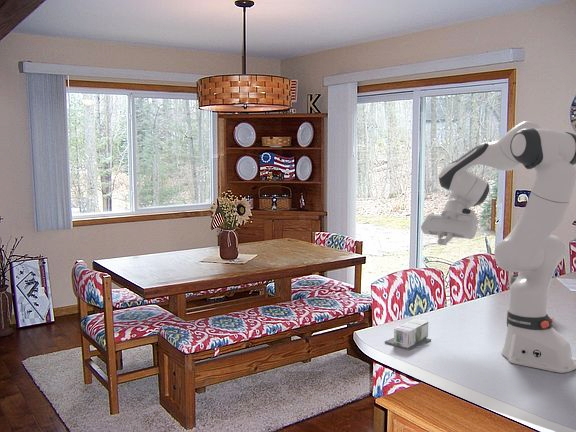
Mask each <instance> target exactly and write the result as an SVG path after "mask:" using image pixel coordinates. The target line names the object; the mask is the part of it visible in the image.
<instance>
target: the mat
mask: <svg viewBox="0 0 576 432" xmlns="http://www.w3.org/2000/svg"><path fill="white" fill-rule="evenodd" d="M431 342H432V338H429V337H426V338H425V339H423V340H421V341H419V342H417V343H416V344H414V345H412V346H410V347H409V348H406V347H402V346H398V345H395V344H394V337H392V338H389V339H387V340H385V341H384V344H386V345H391V346H394V347H397V348H400V349H404V350H407V351H410V350H413V349H416V348H418V347H420V346H423V345H424V344H427V343H431Z"/></svg>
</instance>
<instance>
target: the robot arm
mask: <svg viewBox="0 0 576 432" xmlns="http://www.w3.org/2000/svg"><path fill="white" fill-rule="evenodd" d="M476 165H482V166H487V167H491V168H494V169H497V170H499V171H503V172H504V171H505V172H506V171H507V172H508V171H510V172H511V171H514V170H516V169H519V168H520V167H522V166H523V167H524V168H525V169H527V170H533V169H534V170H535V173H536V174H535V175H536V176H535V180H534V182H533V185H532V188H531V191H530V194H529V196H528V200H527V202H526V205H525V207H524V210H523V212H522V214H521V216H520V218H519V219H518V221H517V222H516V224H515V225H514V227H513V228H512V230H511V231H510V232H509V234H508V235H507V236H506V237H505V238H503V240H501V241H500V242H498V243H497V245H496V246H495V249H494V253H493V254H494V255H493V256H494V260H495V262H496V265H497V266H498V267H499V268H500V269H501V270H503V271H506V272H511V273H518V274H519V275H518V277H517V279H516V280H515V281H514V282H513V284H512V285H511V284H510V287H509V298H508V299H509V301H508V302H509V303H508V310H507V314H506V327H507V329H506V330H507V331H506V336H505V342H504V344H503V348H502V349H501V354H502V355H503V357H505V358H506V359H507V360H508V362H509V363H511V364H514V365H519V366H525V367H529V368H535V369H540V370H543V371H549V372H552V373H553V372H555V373H560V374H561V373H562V374H563V373H565V374H566V373H570V372H573V371H574V370H576V357H574V356H573V354H572V347H571V343H570V342H569V341H568V340H567V339H566V337H565V338H564V336H562V335H561V334H560V333H559V332H558V331H557V330H555V328H554V327H553V323H554V322H555V317H552V318H551V317H550V316H549V315H548V312H547V311H548V310H547V309H548V296H549V295H548V294H549V289H550V285H551V283H552V279H553V277H554V275H555V274H554V273H555V271H556V269H557V267H558V265H559V264H560V263H561V262H562V261H563V260H564V258H565V256H566V246H565V244H564V242H563V240H562V239H561V238H560V237H559V236H557V235H554V234H553V233H554V232H555V231H556V230H558V229H559V227H560V226H561V225H562V223H563V220H564V218H565V215H566V212H567V209H568V207H569V204H570V201H571V198H572V196H573V193H574V189H575V184H576V167H575V165H576V134H574V133H573V132H568V131H565V132H564V131H559V130H555V129H554V130H553V129H551V128H542V127H541V126H540V125H539V124H537V123H536V122H535V121H529V120H528V121H527V120H525V121H522V122H520V123H519V124H517V125H515V126H514V127H512V128H511V129H510V130H508V131H507V132H506V133H505V134H504V135H503V136H502V137H501V138H499V139H498V140H495V141H491V142H482V143H479V144H478V145H477V146H475V147H474V148H471V149H470V150H469V151H467V152H466V153H464V154H463V155H461V156H460V157H459V158H457V159H456V160H454V161H452V162H449V163H448V164H447V165H445V166H444V167H443V168H442V169H441V171H440V173H439V175H438V181H439V184H440V186H441V187H442V188H443V189H445V190H447V191H450V194H449V197H448V200H447V202H446V203H445V205H444V207H443V210H442V212H441V213H440V212H439V213H436V212H431V213H430V214H428V215H427V216H426V218H425V219H424V220H423V222H422V223H421V225H420V229H421V231H422V232H423V234H424V235H431V236H437V238H438V239H437V241H436V242H437V244H438V245H440V246H447V244H448V243H449V242H450V241H451V240H452V239H453V238H458V239H468V240H472V239H474V238H475V236H476V234H477V230H478V223H479V218H478V217H477V215H476V213H475V211H474V210H473V209H470V208H471V207H473V208H474V207H477V206H479V205H481V204H483V203H484V202H485V201H486V199H487V198H488V195H489V193H490V184H489V182H488V181H487V180H485V179H484V178H482V177H481V176H478V175H477V174H475V173H473V172H471V171H470V170H469V168H471V167H473V166H476ZM444 237H445V238H444Z"/></svg>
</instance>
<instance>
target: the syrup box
mask: <svg viewBox="0 0 576 432" xmlns="http://www.w3.org/2000/svg"><path fill="white" fill-rule="evenodd" d="M393 338H394V344H395V345H398V346H402V347H406V348H409V347H410V346H412V345H414V344H416V343H417V342H419V341H421V340H423V339H425V338H429V321H427V320H423V319H419V318H413V319H410V320H409V321H407V322H404V323H402V324H401V325H399V326H396V327H394V328H393Z"/></svg>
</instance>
